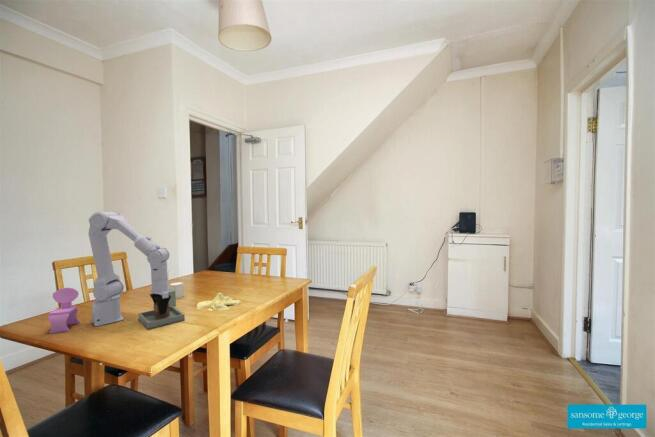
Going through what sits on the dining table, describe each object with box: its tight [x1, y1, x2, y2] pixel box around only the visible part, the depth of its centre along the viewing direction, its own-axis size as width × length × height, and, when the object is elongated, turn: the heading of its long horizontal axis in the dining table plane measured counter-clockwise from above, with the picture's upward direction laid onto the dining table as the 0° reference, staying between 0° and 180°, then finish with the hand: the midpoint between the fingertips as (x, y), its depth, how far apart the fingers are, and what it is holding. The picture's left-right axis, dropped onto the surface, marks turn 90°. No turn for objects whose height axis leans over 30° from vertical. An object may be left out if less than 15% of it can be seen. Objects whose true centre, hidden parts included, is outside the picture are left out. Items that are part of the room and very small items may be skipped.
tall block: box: [168, 289, 177, 307], centre depth 145 cm, size 4×4×7 cm
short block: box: [153, 303, 170, 319], centre depth 127 cm, size 4×4×5 cm
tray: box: [137, 306, 185, 330], centre depth 127 cm, size 13×15×2 cm
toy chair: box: [48, 287, 81, 334], centre depth 120 cm, size 8×9×15 cm
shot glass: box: [168, 281, 185, 300], centre depth 158 cm, size 7×7×7 cm
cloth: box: [196, 292, 242, 312], centre depth 144 cm, size 22×19×6 cm
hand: (161, 312), depth 127 cm, fingers closed on short block, 4 cm apart
